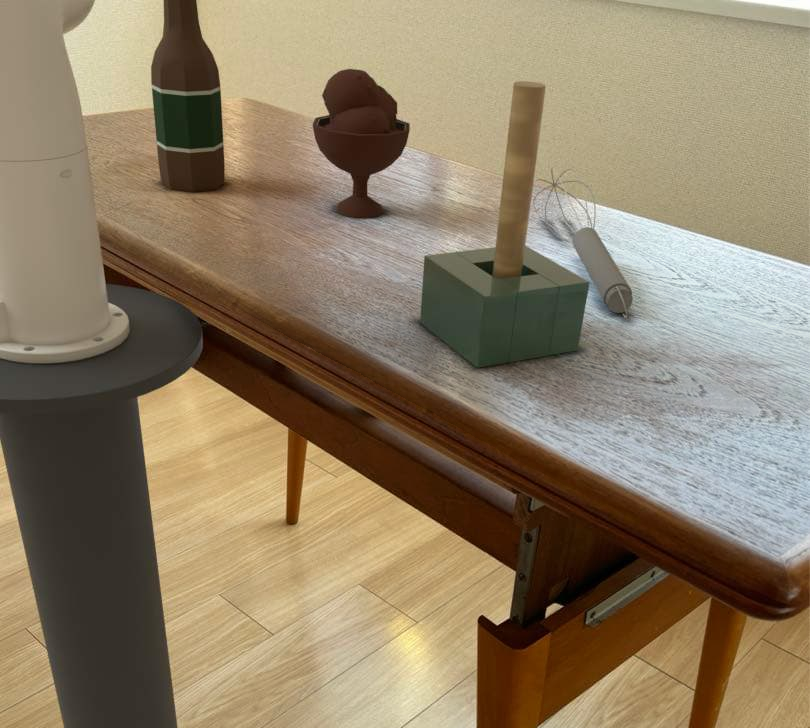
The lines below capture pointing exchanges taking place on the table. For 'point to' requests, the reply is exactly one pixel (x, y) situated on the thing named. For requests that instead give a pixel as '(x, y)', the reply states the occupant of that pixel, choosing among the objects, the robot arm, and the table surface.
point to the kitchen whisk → (594, 256)
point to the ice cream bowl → (359, 134)
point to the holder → (502, 306)
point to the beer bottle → (187, 103)
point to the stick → (518, 178)
